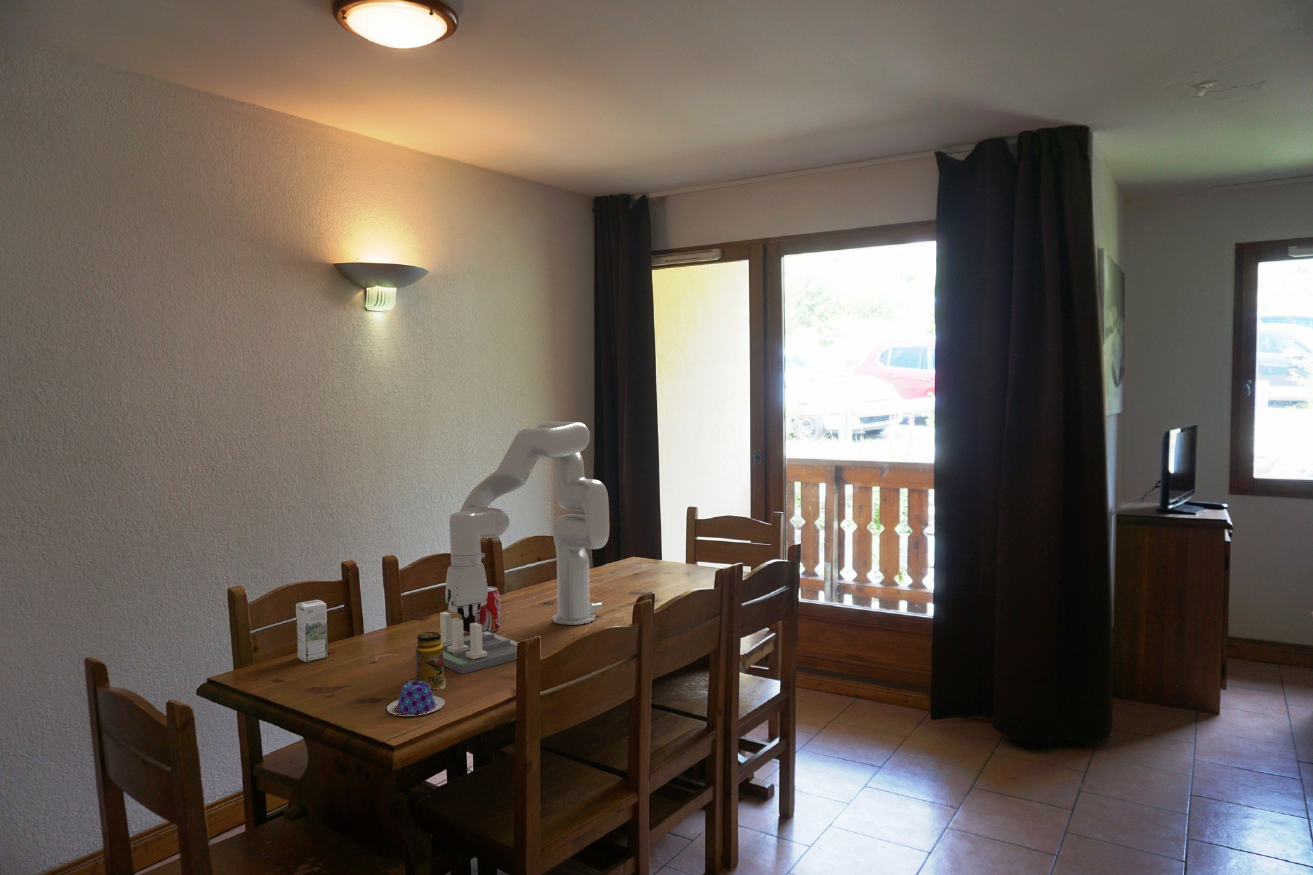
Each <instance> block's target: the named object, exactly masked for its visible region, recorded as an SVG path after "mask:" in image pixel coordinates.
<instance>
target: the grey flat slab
mask: <svg viewBox="0 0 1313 875" xmlns="http://www.w3.org/2000/svg"><path fill="white" fill-rule="evenodd" d="M463 637H464V645H466V646H469V649H466V650H462V651H457V652H454V653H452V652H449V651H447V647H448V646H452V643H450V644H446V645H442V646H443V667H446V668H448V669H450V670H453V671H455V672H457V673H459V674H461V675H464V674H467V673H468V674H469V673H471V672H475V671H480V670H483V669H487V668H491V667H495V666H498V665H502V664H503V665H504V664H506V663H510V662H513V661H517V660H516V648H517V643H519V642H518V641H515V640H512V639H509V638H506V637H504V636H501V635H498V634H495V633H493V632H488V631H487V632H482V650H484V651H486V652H487V656H485V657H481V658H477V659H471V658H469V657H466V652H469V651H470V634H468V635H463Z"/></svg>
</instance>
